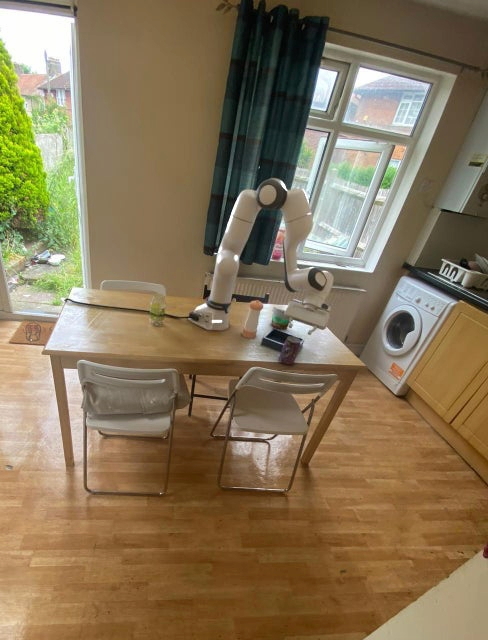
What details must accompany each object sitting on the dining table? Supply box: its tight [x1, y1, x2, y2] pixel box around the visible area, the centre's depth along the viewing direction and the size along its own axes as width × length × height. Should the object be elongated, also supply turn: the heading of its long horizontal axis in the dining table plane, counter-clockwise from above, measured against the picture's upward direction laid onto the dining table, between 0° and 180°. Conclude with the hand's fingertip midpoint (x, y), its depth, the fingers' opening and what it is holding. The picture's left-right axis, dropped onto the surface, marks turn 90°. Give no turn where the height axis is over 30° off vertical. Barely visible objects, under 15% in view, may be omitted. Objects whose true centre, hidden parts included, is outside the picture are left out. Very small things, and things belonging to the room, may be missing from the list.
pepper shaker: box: [241, 299, 264, 339], centre depth 170 cm, size 7×7×19 cm
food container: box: [270, 306, 290, 331], centre depth 184 cm, size 12×6×10 cm, turn 62°
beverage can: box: [278, 336, 301, 365], centre depth 155 cm, size 7×7×12 cm
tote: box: [260, 327, 306, 353], centre depth 170 cm, size 18×15×4 cm
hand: (299, 330), depth 155 cm, fingers open, 8 cm apart
